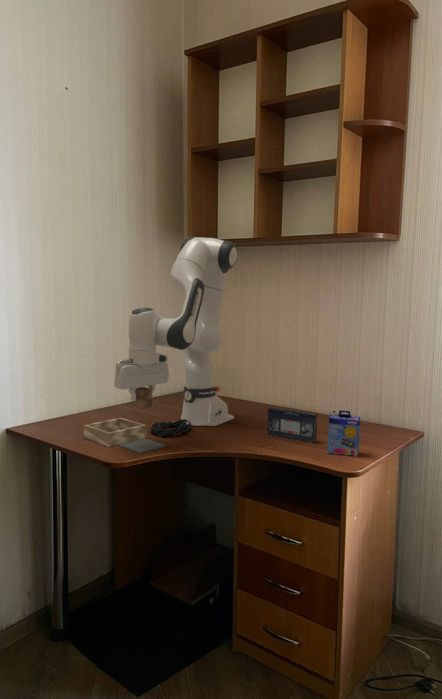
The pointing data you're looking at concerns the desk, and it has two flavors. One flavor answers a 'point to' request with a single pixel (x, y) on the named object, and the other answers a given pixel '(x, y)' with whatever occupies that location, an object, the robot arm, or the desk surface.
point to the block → (143, 397)
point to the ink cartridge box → (343, 434)
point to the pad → (142, 445)
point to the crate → (115, 431)
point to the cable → (180, 427)
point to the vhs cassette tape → (292, 424)
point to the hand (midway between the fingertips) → (142, 399)
